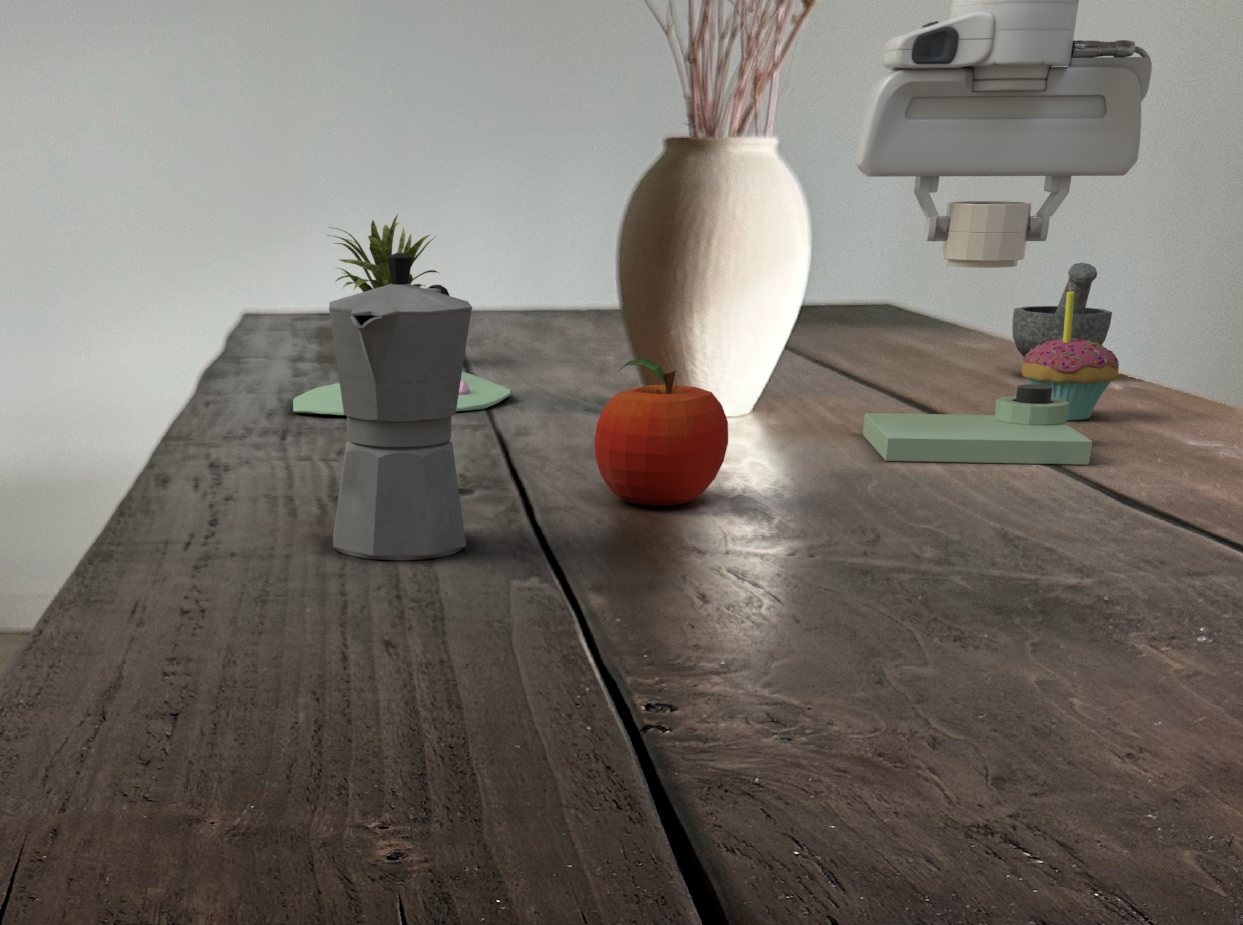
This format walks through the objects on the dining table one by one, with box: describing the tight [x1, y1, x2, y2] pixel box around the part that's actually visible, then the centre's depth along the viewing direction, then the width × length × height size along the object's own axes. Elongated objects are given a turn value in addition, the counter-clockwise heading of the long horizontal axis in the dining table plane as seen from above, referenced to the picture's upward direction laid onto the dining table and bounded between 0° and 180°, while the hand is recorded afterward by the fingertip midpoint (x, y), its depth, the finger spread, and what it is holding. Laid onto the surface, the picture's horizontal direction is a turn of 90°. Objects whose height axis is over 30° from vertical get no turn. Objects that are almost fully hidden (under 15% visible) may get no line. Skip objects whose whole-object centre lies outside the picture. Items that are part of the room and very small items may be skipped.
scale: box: [862, 395, 1093, 466], centre depth 143 cm, size 16×13×4 cm
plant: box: [292, 371, 513, 416], centre depth 168 cm, size 25×21×9 cm
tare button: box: [1015, 383, 1052, 404], centre depth 145 cm, size 3×3×2 cm
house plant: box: [327, 214, 442, 292], centre depth 193 cm, size 14×14×16 cm
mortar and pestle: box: [1011, 262, 1113, 376], centre depth 182 cm, size 11×9×12 cm
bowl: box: [940, 200, 1033, 269], centre depth 131 cm, size 6×6×4 cm
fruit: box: [593, 358, 729, 507], centre depth 122 cm, size 10×10×10 cm
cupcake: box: [1021, 283, 1120, 421], centre depth 157 cm, size 9×8×12 cm
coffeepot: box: [328, 252, 473, 561], centre depth 109 cm, size 15×9×18 cm, turn 159°
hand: (983, 241), depth 131 cm, fingers closed on bowl, 6 cm apart
